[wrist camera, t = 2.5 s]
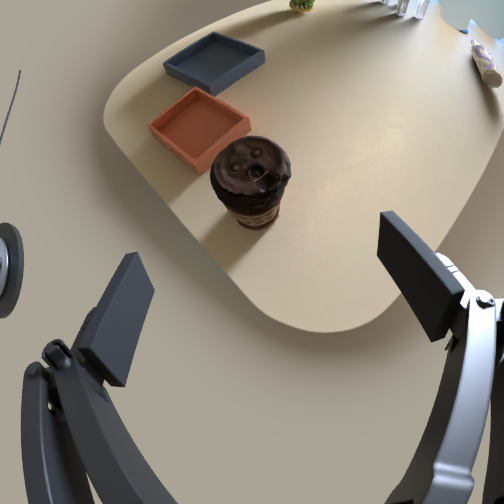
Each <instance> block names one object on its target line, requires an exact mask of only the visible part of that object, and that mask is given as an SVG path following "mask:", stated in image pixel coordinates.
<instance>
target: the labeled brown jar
mask: <svg viewBox="0 0 504 504" xmlns="http://www.w3.org/2000/svg"><path fill="white" fill-rule="evenodd" d="M290 165H291V164H290V161H289V157H288V155H287V154H286V152H285V151H284V150H283V149H282V148H281V147H280V146H279V145H278V144H276V143H275V142H273V141H271V140H269V139H268V138H264V137H261V136H247V137H243V138H240V139H237V140H235V141H233V142H231V143H230V144H229V145H228V146H227V147H226V148H224V149H223V150H222V151H220V152H219V154H218V155H217V156H216V158H215V160H214V162H213V164H212V166H211V172H210V180H211V184H212V187H213V189H214V191H215V193H216V195H217V197H218V198H219V200H221V201H222V202H223V204H224V205H225V207H226V208H227V209H228V211H229V212H230V213H231V214H232V216H233V217H235V218H236V219H237V221H238V223H239V224H240V225H242V226H243V227H245V228H247V229H251V230H261V229H264V228H267V227H269V226H270V225H272V224H273V223H274V222H275V221H276V219H277V218H278V217H279V215H280V200H281V198H282V196H283V193H284V188H285V186H286V185H287V183H288V180H289V179H290V178H291V168H290Z"/></svg>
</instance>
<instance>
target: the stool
mask: <svg viewBox="0 0 504 504" xmlns="http://www.w3.org/2000/svg"><path fill="white" fill-rule="evenodd" d="M379 1H380V2H381V3H382V4H388V2H389V0H379ZM429 1H430V0H419V3H418V6H417V9H416V12H415V15H414V17H416V18H417V19H419V20H423V17H424V15H425V12H426V9H427V7H428V4H429ZM408 3H409V0H399V1H398V4H397V8H396V11H395V13H396V14H397V15H398V16H402V17H404V16H405V12H406V9H407V6H408Z"/></svg>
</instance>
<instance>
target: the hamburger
mask: <svg viewBox="0 0 504 504" xmlns="http://www.w3.org/2000/svg"><path fill="white" fill-rule="evenodd" d="M314 2H315V0H291V1H290V4H289V5H290V8H291V9H292V10H294V11H296V12H300V13H304V12H309V11H311V10H312V9H313V8H314Z"/></svg>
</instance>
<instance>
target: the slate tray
mask: <svg viewBox="0 0 504 504" xmlns="http://www.w3.org/2000/svg"><path fill="white" fill-rule="evenodd" d="M263 63H265V53H264V50H262V49H259V48H257V47H255V46H252V45H250V44H247V43H244V42H242V41H239V40H236V39H234V38H231V37H228V36H225V35H222V34H219V33H216V32H212V33H210V34H208V35H207V36H205V37H203V38H201V39H200V40H198V41H196V42H195V43H193V44H191V45H190V46H188V47H186V48H185V49H183V50H182V51H180V52H179V53H177V54H175V55H174V56H172V57H171V58H170V59H168V60H167V61H165V62H164V63H163V65H164V68H165V70H166V72H167V74H169V75H171V76H173V77H175V78H177V79H179V80H181V81H183V82H185V83H187V84H188V85H190V86H192V87H195V86H196V87H198V88H200V89H201V90H203V91H205V92H207V93H209V94H210V95H212V96H214V97H215V96H216V95H217V94H219V93H220V92H222V91H223V90H224V89H226V88H227V87H229V86H230V85H231V84H233V83H234V82H236V81H237V80H239V79H240V78H241V77H243V76H244V75H246V74H247V73H249V72H251V71H252V70H254V69H255V68H257V67H258V66H260V65H261V64H263Z"/></svg>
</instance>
